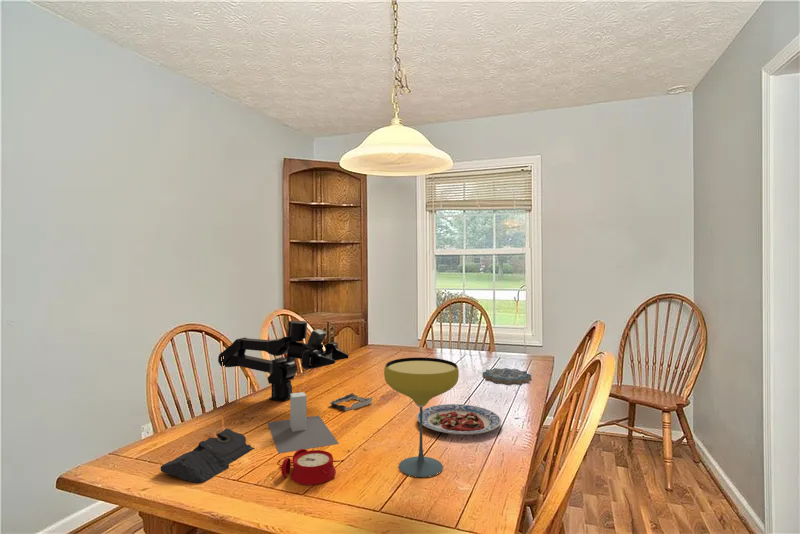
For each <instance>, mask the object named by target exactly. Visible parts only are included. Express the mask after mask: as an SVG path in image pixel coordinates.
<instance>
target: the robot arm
mask: <svg viewBox="0 0 800 534" xmlns="http://www.w3.org/2000/svg"><path fill="white" fill-rule="evenodd" d="M287 326H288V328H287V329H288V331H287V332H288V333H287V336H284V337H280V338H274V339H263V338H249V337H240V338H236V339H235V340H234V341H233V343H231V344H230V345H229V346H228V347H226V348H225V349H224V350H223V351H221V352H220V353H219V354H218V358H217V361H218V364H219V366H220V367H222V362H223V366H224V365H225V367H224V368H234V367H241V368H246V369H250V370H255V371H259V372H263V373H268V374H269V375H268V377H267V378H266V379H267V381H268V384H271V396H270V397H269V398H268V399H269V401H270V400H271V401H281V402H286V401H287V400H290V394H291V393H293V385H292V380H294V379H295V375H296V374H297V371H298V366H297V364H296V362H295V361H296V359H298V360H301V367H302V369H303V370H308V371H309V370H314V369H318V368H321V367H326V366H330V365H334V364H336V361H340V360H346V359H349V357H350V356H349V354H347V353H346V352H344V350H343V351H342V350H341V349H340V348H339V343H338V342H337V341H332V342H328V343H327V344H326V345H325V349H324V344H323V341H324V339H325V337H326V335H327V334H326V332H325V330H324V329H320V328H318V329H314V330H312V331H311V333H310V336H309V337H308V340H307V343H305V342H302V341H304V340H305V339H307V330H308V322H307V321H306V320H305V321H304V320H290V321H288V325H287ZM247 351H256V352H257V351H259V352H264V353H265V352H266V353H267V354H269V355H271V356H273V357H274V356H275V357H278V356H279V357H278V358H274V359H272V360H270V359H266V358H261V357H258V356H257V357H256V356H252V355H247V354H246V352H247ZM282 355H286V356H285V357H282ZM223 356H224V359H223ZM221 357H222V361H221Z"/></svg>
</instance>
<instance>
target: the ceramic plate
mask: <svg viewBox="0 0 800 534" xmlns="http://www.w3.org/2000/svg"><path fill="white" fill-rule="evenodd" d="M416 418H417V419H416V420H417V421H418V423H419V424H420V411H419V412H418V413H417V415H416ZM501 424H502V419H501V417H500V415H498V414H497V413H496V412H494V411H492V410H489V409H487V408H485V407H480V406H476V405H470V404H462V403H459V404H458V403H450V404H449V403H448V404H447V403H445V404H438V405H432V406H429V407H426V408H424V409H423V408H422V427H423V426H424V427H425V428H427V429H430V430H432V431H435V432H440V433H444V434H451V435H479V434H484V433H488V432H491V431H493V430H497V428H499V426H500V425H501Z"/></svg>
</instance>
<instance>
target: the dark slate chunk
mask: <svg viewBox="0 0 800 534" xmlns="http://www.w3.org/2000/svg"><path fill="white" fill-rule="evenodd" d="M255 448H256V447H252V446H251V444H247V440H246V436H245V435H244V434H243V433H239V432H235V431H233V430H231V429H230V428H225V429H224V430H222V431H221V432H219V433H216V437H212V436H211V437H208V438H207V439H206V440H201V441H200V442H199V443H198V445H197V446H196V447H195V448H194V449H192V451H191V450H190V451H188V452H185V453H182V454H181V455H180V456H177V457H175V458H174V459H172V460H170V461H168V462H165V463H164V464H162V465H161V466H160V471H161V472H162V473H164V474H168V475H170V476H174V477H178V478H180V480H184V481H186V482H190V483H197V484H200V483H202V484H203V483H206V482H207V481H210V480H212V479H213V478H215V476H217V475H219V474H221V473H223V472H224V471H226V470H228V469H230V464H232V463H234V462H235V461H237V460H238V459H240V458H242V457H243V456H245V455H246V454H249V452H251V451H253V450H255Z"/></svg>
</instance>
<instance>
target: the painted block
mask: <svg viewBox="0 0 800 534" xmlns="http://www.w3.org/2000/svg"><path fill="white" fill-rule="evenodd" d="M289 402H290V403H289V404H290V407H289V408H290V409H289V413H290V414H289V415H290V416H289V417H290V418H289V419H290V427H291V429H292V431H293V432H294V431H301V430H306V417H307V394H306V393H305V392H304V391H300V392H294V393H293V392H292V393H291V394H290V398H289Z"/></svg>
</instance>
